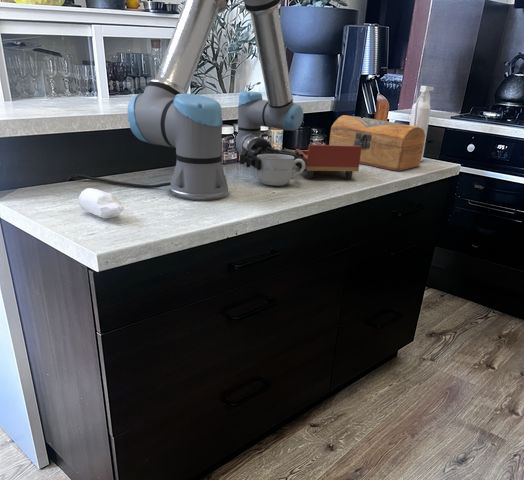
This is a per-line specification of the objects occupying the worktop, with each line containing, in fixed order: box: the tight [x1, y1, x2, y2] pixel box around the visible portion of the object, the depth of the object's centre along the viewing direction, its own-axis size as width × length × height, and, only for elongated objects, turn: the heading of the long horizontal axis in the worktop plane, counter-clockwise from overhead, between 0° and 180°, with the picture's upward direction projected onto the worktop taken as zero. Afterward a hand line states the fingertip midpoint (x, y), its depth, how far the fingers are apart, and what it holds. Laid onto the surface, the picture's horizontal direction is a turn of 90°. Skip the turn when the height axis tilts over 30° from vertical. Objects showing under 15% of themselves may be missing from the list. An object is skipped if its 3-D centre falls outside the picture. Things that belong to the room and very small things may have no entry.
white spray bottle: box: [409, 85, 435, 162], centre depth 188 cm, size 7×12×25 cm, turn 140°
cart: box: [294, 144, 362, 180], centre depth 165 cm, size 16×19×10 cm
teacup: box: [256, 154, 306, 187], centre depth 150 cm, size 14×11×8 cm
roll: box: [78, 187, 125, 219], centre depth 116 cm, size 6×12×6 cm, turn 48°
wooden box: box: [328, 114, 425, 172], centre depth 185 cm, size 30×16×14 cm, turn 46°
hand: (281, 164), depth 148 cm, fingers closed on teacup, 12 cm apart
